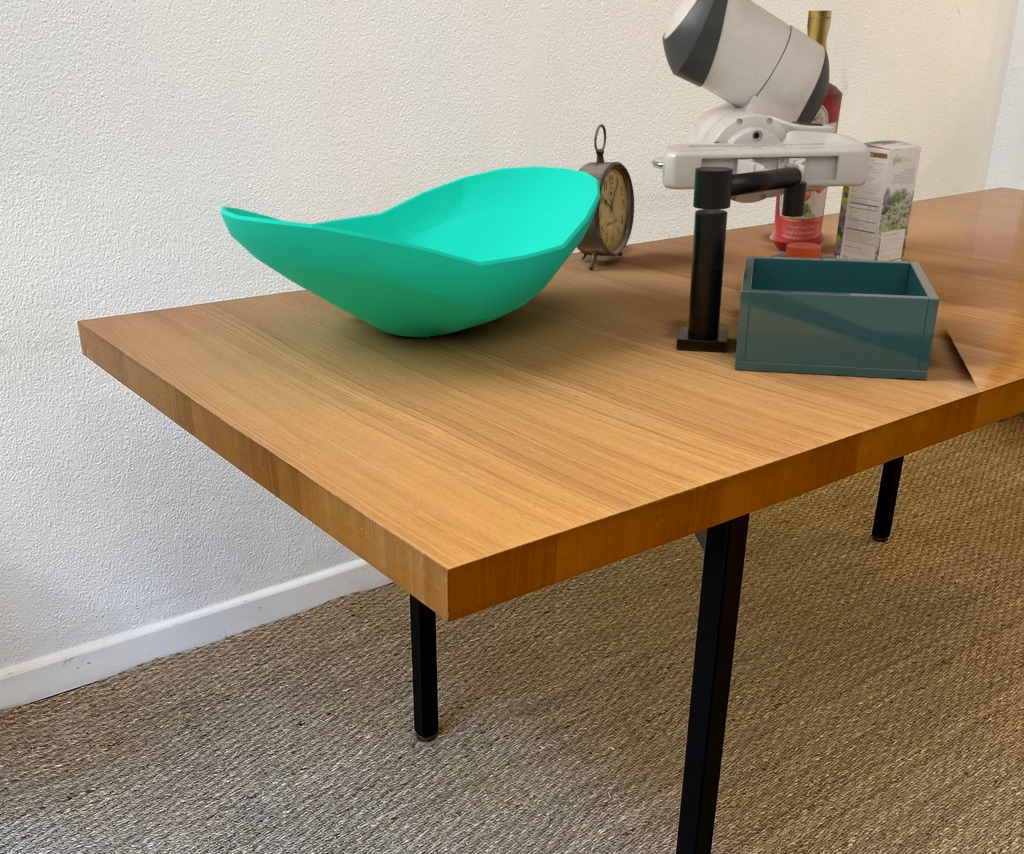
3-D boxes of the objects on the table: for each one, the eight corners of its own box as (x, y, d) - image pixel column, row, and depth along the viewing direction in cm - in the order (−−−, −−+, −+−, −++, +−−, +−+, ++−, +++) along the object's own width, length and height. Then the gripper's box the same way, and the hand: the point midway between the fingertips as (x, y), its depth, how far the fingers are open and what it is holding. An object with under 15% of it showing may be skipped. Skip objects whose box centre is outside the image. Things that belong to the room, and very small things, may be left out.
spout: (710, 233, 91) (714, 172, 88) (684, 228, 93) (687, 168, 91) (813, 216, 98) (819, 159, 96) (786, 211, 100) (791, 156, 98)
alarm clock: (599, 273, 125) (602, 129, 118) (558, 269, 127) (559, 127, 120) (635, 256, 133) (640, 120, 126) (596, 252, 136) (599, 119, 129)
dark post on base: (727, 339, 99) (737, 208, 94) (725, 352, 95) (735, 216, 90) (680, 336, 100) (687, 206, 94) (676, 349, 96) (683, 215, 91)
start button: (819, 259, 113) (821, 242, 113) (820, 266, 110) (822, 249, 110) (785, 258, 114) (786, 241, 113) (785, 264, 111) (786, 248, 110)
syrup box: (861, 265, 127) (877, 138, 121) (903, 273, 123) (922, 142, 117) (831, 271, 124) (846, 142, 118) (873, 280, 120) (891, 146, 114)
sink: (907, 333, 100) (918, 261, 97) (926, 380, 87) (939, 299, 84) (740, 325, 103) (745, 255, 100) (734, 369, 90) (740, 291, 87)
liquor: (821, 243, 139) (847, 10, 128) (828, 254, 133) (856, 10, 121) (764, 242, 140) (785, 11, 129) (769, 253, 134) (791, 10, 122)
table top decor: (350, 409, 82) (336, 236, 76) (175, 342, 100) (153, 198, 94) (664, 314, 107) (671, 179, 101) (479, 274, 125) (476, 158, 119)
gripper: (650, 127, 109) (672, 142, 96) (846, 124, 109) (893, 138, 97) (648, 190, 112) (669, 213, 99) (838, 186, 112) (884, 208, 100)
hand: (781, 176), depth 98 cm, fingers closed
